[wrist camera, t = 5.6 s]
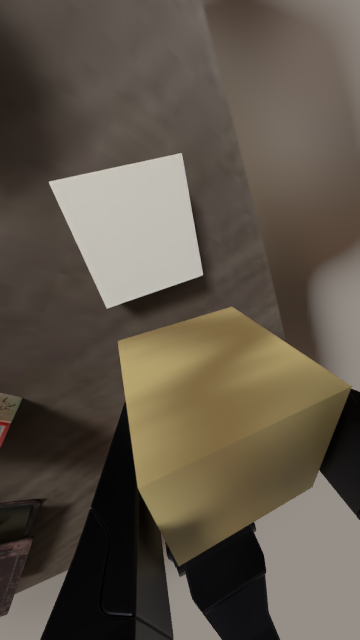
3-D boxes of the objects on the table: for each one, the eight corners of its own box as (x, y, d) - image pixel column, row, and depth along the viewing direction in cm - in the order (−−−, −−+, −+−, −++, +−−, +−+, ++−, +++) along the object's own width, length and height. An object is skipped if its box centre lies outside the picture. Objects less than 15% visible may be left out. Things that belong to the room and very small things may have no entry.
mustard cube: (232, 306, 9) (351, 386, 5) (233, 386, 11) (312, 486, 7) (117, 341, 8) (137, 488, 3) (146, 421, 10) (178, 566, 6)
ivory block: (164, 168, 16) (181, 153, 13) (185, 266, 20) (203, 275, 16) (61, 191, 14) (48, 181, 11) (106, 292, 18) (106, 308, 15)
